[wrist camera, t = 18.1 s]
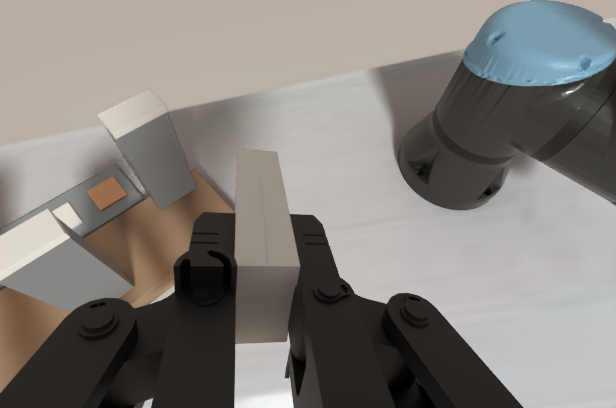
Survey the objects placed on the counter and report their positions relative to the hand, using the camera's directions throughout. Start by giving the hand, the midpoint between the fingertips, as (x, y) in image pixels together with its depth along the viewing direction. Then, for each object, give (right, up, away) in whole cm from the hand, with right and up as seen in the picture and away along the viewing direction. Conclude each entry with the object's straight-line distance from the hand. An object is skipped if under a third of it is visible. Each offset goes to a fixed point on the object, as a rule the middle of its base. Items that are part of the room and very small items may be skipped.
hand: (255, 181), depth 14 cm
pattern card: (-28, -3, +29) cm, 41 cm away
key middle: (-19, -10, +23) cm, 31 cm away
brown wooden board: (-21, -10, +26) cm, 35 cm away
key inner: (-14, +1, +29) cm, 32 cm away
